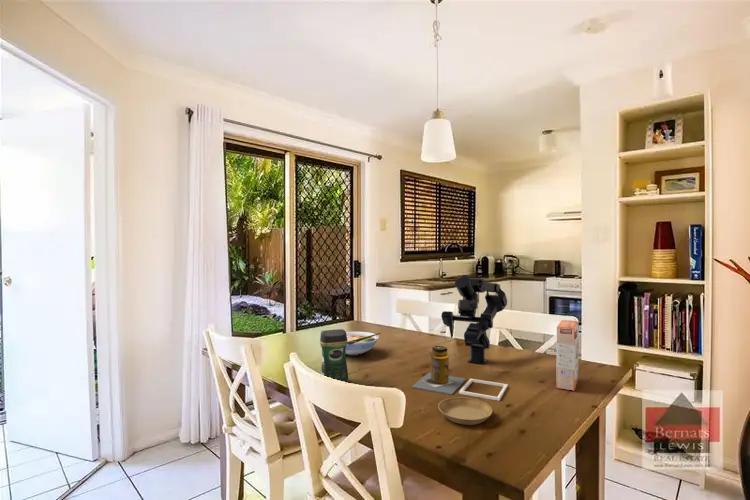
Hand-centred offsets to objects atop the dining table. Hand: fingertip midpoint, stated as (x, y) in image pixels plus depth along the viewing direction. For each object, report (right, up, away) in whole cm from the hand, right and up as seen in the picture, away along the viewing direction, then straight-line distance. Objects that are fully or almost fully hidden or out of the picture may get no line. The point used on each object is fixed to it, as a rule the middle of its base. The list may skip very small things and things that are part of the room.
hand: (463, 338), depth 143 cm
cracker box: (+33, -14, -10) cm, 37 cm away
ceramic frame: (+3, -14, -15) cm, 20 cm away
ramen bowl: (-42, -14, +31) cm, 54 cm away
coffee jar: (-47, -14, -6) cm, 50 cm away
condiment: (-11, -14, -8) cm, 19 cm away
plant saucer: (-8, -14, -34) cm, 38 cm away
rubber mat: (-10, -14, -8) cm, 19 cm away
